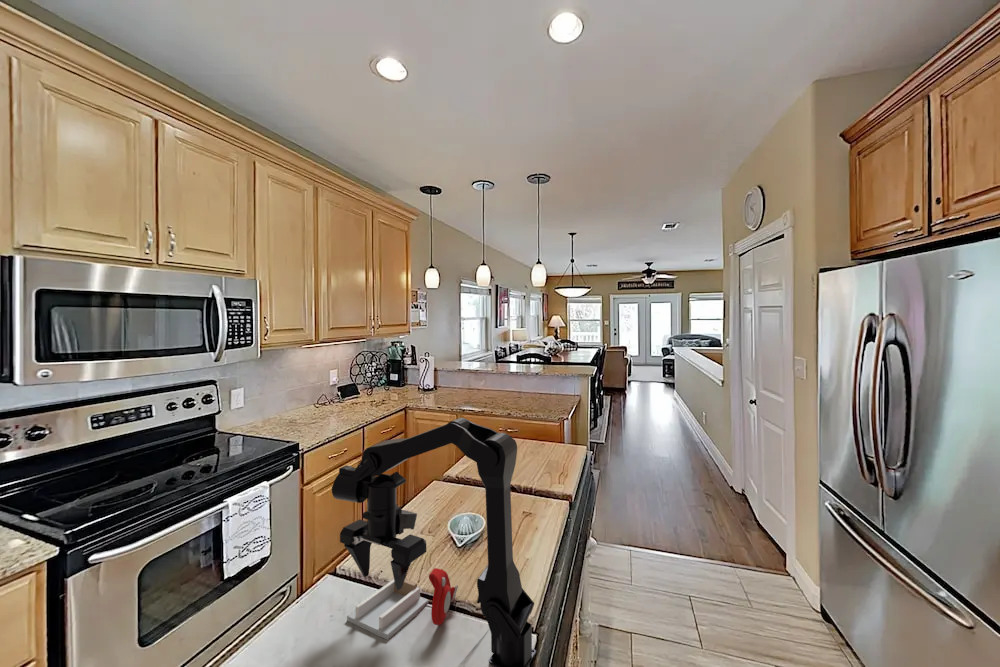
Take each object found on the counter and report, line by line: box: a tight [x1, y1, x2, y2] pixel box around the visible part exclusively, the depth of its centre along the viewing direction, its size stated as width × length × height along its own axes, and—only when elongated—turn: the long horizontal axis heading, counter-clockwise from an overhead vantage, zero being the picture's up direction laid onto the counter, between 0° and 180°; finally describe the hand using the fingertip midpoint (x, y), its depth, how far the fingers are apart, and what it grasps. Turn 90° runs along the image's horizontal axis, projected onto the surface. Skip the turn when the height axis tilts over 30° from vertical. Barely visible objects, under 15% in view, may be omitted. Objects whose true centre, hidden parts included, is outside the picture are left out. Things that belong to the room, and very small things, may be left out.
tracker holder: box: [428, 567, 459, 626], centre depth 87 cm, size 12×4×10 cm, turn 166°
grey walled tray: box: [346, 578, 429, 641], centre depth 88 cm, size 11×12×4 cm
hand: (382, 582), depth 87 cm, fingers open, 9 cm apart
